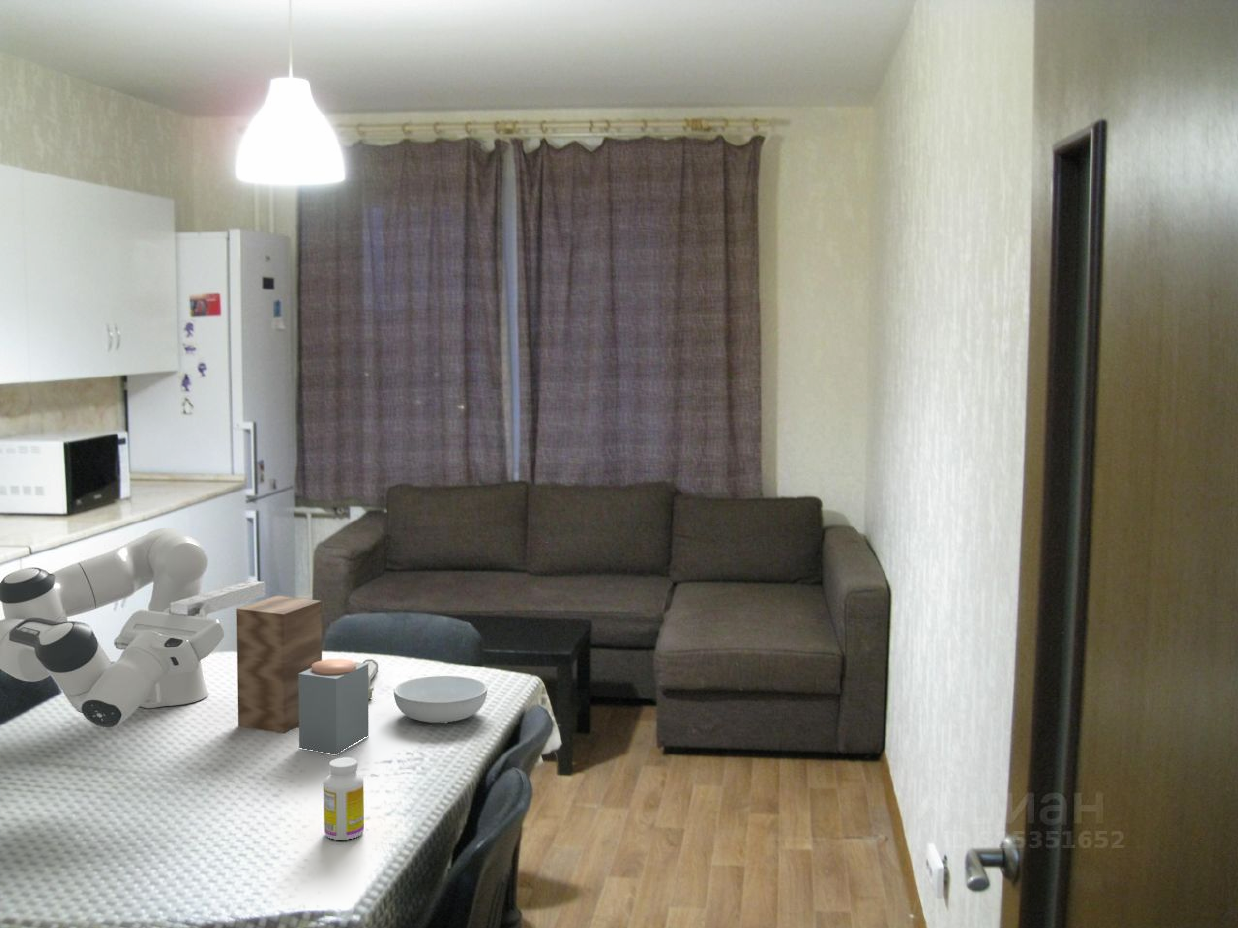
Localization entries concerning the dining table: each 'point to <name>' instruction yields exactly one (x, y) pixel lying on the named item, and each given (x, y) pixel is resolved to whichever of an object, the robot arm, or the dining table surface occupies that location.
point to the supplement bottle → (343, 800)
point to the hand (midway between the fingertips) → (195, 604)
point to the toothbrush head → (371, 674)
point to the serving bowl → (440, 698)
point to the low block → (333, 705)
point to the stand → (275, 659)
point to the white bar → (220, 598)
